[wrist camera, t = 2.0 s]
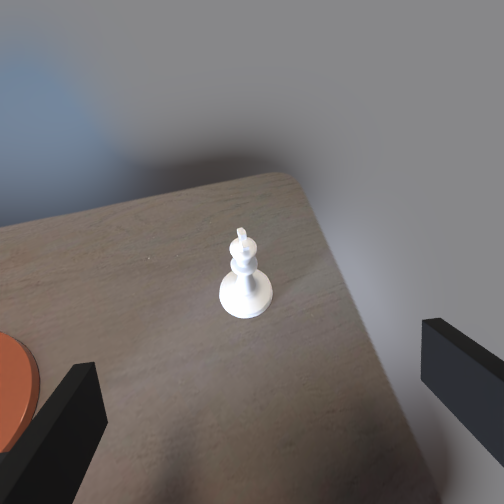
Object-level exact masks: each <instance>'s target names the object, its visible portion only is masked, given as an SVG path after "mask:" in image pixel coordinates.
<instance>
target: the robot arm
mask: <svg viewBox="0 0 504 504" xmlns="http://www.w3.org/2000/svg"><path fill="white" fill-rule="evenodd" d="M421 380H422V381H423V382H424V383H425V385H427V387H428V388H429V389H430V390H431V391H432V392H433V393H434V394H435V395H436V396H437V397H438V398H439V399H440V400H441V401H442V403H443V404H444V405H445V406H446V407H447V408H448V409H449V410H450V411H451V412H452V413H453V414H454V415H455V416H456V417H457V418H458V419H459V421H460V422H461V423H462V424H463V425H464V426H465V427H466V428H467V429H468V430H469V431H470V432H471V433H472V434H473V435H474V436H475V438H476V439H477V440H478V441H479V442H480V443H481V444H482V445H483V446H484V447H485V448H486V449H487V450H488V451H489V452H490V453H491V455H492V456H493V457H494V458H495V459H496V460H497V461H498V462H499V463H500V464H501V465H502V466H503V467H504V361H503V360H501V359H499V358H498V357H497V356H495V355H494V354H492V353H491V352H489V351H488V350H487V349H485V348H484V347H482V346H481V345H479V344H478V343H476V342H475V341H473V340H472V339H470V338H469V337H468V336H466V335H464V334H463V333H462V332H460V331H459V330H457V329H456V328H454V327H453V326H452V325H450V324H449V323H447V322H446V321H444V320H443V319H441V318H434V319H426V320H422V348H421ZM107 424H108V421H107V416H106V412H105V407H104V403H103V398H102V394H101V389H100V385H99V381H98V376H97V372H96V367H95V363H94V362H89V363H81V364H74V365H73V366H72V368H71V369H70V370H69V372H68V373H67V374H66V376H65V377H64V378H63V380H62V381H61V383H60V384H59V385H58V387H57V388H56V389H55V391H54V392H53V393H52V395H51V396H50V397H49V399H48V400H47V401H46V403H45V404H44V405H43V407H42V408H41V409H40V411H39V412H38V413H37V415H36V416H35V417H34V419H33V420H32V421H31V423H30V424H29V426H28V427H27V428H26V430H25V431H24V432H23V434H22V435H21V436H20V438H19V439H18V440H17V442H16V443H15V444H14V446H13V447H12V448H11V450H10V451H9V452H3V453H0V504H72V503H73V501H74V499H75V496H76V494H77V492H78V489H79V487H80V485H81V483H82V480H83V478H84V476H85V474H86V471H87V469H88V467H89V465H90V462H91V460H92V458H93V455H94V453H95V451H96V449H97V446H98V444H99V442H100V440H101V437H102V435H103V433H104V431H105V428H106V426H107Z"/></svg>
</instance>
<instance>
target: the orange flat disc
mask: <svg viewBox="0 0 504 504" xmlns="http://www.w3.org/2000/svg"><path fill="white" fill-rule="evenodd" d="M38 395H39V372H38V368H37V364H36V361H35V359H34V357H33V355H32V354H31V352H30V351H29V350H28V348H27V347H25V346H24V345H23V344H22V343H21V342H19V341H18V340H16V339H15V338H13V337H11V336H9V335H7V334H4V333H2V332H0V453H3V452H9V451H10V450H11V448H12V447H13V446H14V444H15V443H16V442H17V440H18V439H19V438H20V436H21V435H22V434H23V432H24V431H25V430H26V428H27V427H28V426H29V424H30V422H31V419H32V417H33V414H34V411H35V408H36V405H37V401H38Z"/></svg>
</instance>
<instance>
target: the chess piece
mask: <svg viewBox="0 0 504 504" xmlns="http://www.w3.org/2000/svg"><path fill="white" fill-rule="evenodd" d="M237 234H238V238H236V239H235V240H233V242H232V243H231V245H230V253H231V255H232V256H233V259H232V261H231V268H232V270H233V271H231V272H230V273H228V274H227V275H226V276H225V278H224V279H223V281H222V283H221V286H220V293H219V295H220V301H221V303H222V305H223V307H224V308H225V309H226V311H228V312H229V313H230V314H232V315H234V316H236V317H240V318H252V317H255V316H258V315H260V314H261V313H263V312H264V311H265V310H266V309H267V308H268V307H269V305H270V303H271V301H272V296H273V291H272V286H271V283H270V281H269V279H268V277H267V276H266V275H265V274H264V273H263V272H261V271H259V270H257V266H258V262H257V259H256V258H255V254H256V252H257V245H256V243H255V242H254V240H252V239H251V238H249V237H247V235H246V231H245V229H244V230H243V227H242V228H238V229H237Z"/></svg>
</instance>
